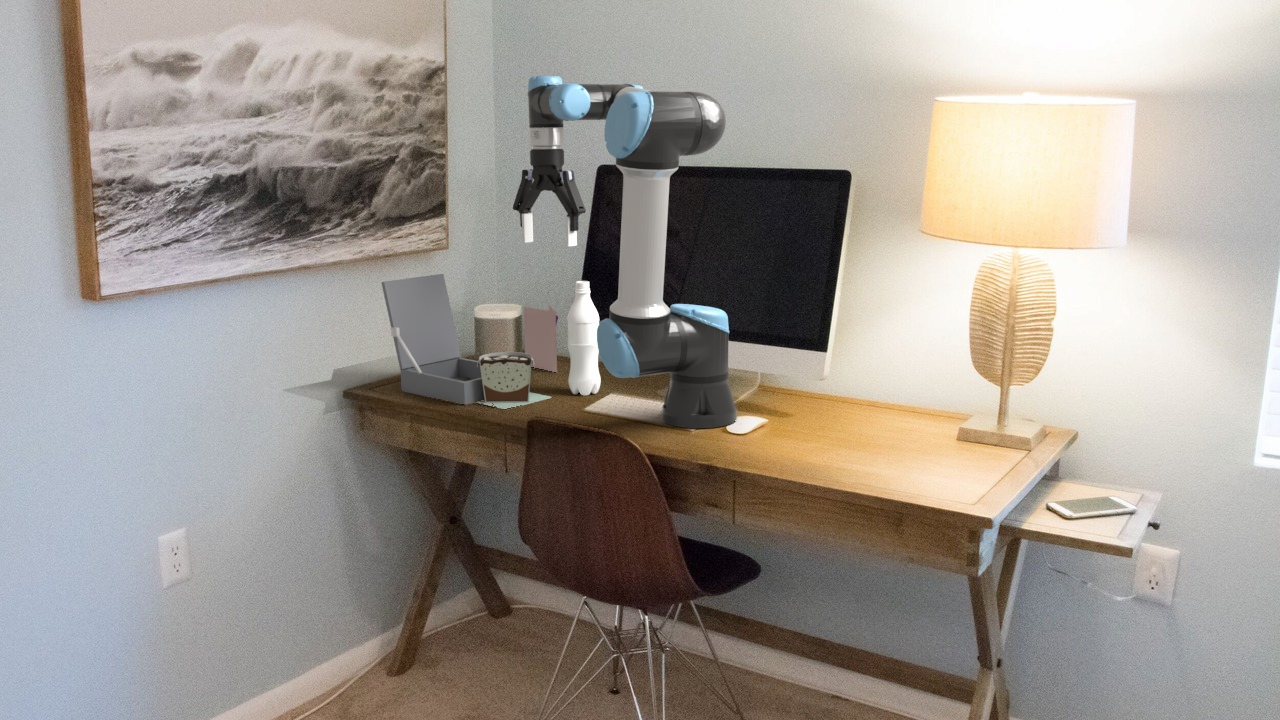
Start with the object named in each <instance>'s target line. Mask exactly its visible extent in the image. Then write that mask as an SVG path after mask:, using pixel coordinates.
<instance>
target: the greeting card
mask: <svg viewBox="0 0 1280 720" xmlns="http://www.w3.org/2000/svg"><path fill="white" fill-rule="evenodd" d="M548 305H549V306H548V310H546V309H540V308H533V307H526V306H524V307H523V323H524V324H523V326H524V329H523V330H524V331H523V332H524V353H527V354H530V355H531V356H532V358H533V361H534V365H535V366H533V364H532V365H531V367H534V368H533V369H535V368H539V369H544V370H548V371H547V372H549V371H552V372H551V373H554V372H556V373H555V374H558V360H557V359H558V357H557V354H558V353H557V351H558V350H557V324H558V319H559V316H558V315H557V314H556V313H557V312H556V311H555V310H554V309H553V307H552V306H551V305H550V304H548ZM539 369H538V370H539ZM544 370H543V371H544Z"/></svg>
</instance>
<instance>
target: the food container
mask: <svg viewBox="0 0 1280 720" xmlns="http://www.w3.org/2000/svg"><path fill="white" fill-rule="evenodd" d="M477 361H478V363H477V367H478V366H479V365H480V370H481V377H482V384H483V391H484V398H485V403H529V392H531V391H530V390H531V389H530V387H531V375H532V373H531V372H532V368H531V365H532V364H533V366H535V365H534V361H533V358H532V356H531V355H530V354H527V353H525V352H519V351H500V352H499V351H498V352H491V353H486V354H482V355H480V356H479V357H478V359H477Z"/></svg>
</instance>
